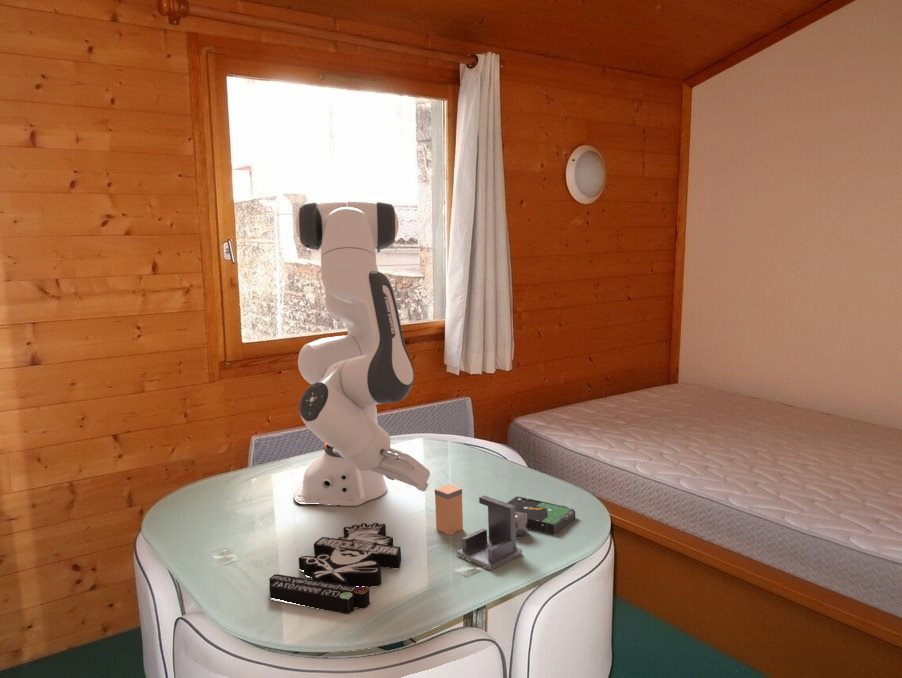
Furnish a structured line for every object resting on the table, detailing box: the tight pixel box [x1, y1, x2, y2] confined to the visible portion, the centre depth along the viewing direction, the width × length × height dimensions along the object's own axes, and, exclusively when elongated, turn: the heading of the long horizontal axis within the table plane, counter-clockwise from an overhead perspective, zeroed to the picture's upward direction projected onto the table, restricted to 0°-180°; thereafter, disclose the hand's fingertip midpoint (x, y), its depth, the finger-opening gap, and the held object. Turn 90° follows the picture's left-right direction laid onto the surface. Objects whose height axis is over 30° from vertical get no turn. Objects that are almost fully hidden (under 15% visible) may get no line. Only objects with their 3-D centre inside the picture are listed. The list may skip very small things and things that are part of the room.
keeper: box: [456, 495, 523, 571], centre depth 138 cm, size 9×10×10 cm
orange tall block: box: [434, 484, 464, 535], centre depth 150 cm, size 4×4×9 cm
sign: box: [268, 522, 402, 615], centre depth 135 cm, size 19×3×30 cm
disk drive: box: [506, 495, 576, 536], centre depth 154 cm, size 10×3×15 cm
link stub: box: [516, 512, 528, 538], centre depth 147 cm, size 4×4×4 cm
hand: (408, 482), depth 141 cm, fingers open, 8 cm apart
